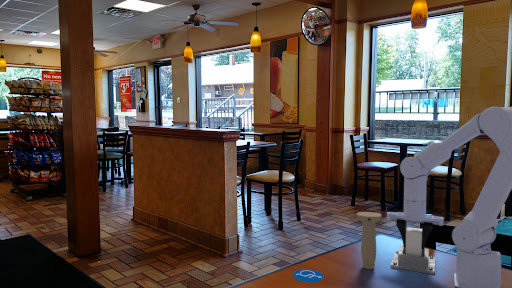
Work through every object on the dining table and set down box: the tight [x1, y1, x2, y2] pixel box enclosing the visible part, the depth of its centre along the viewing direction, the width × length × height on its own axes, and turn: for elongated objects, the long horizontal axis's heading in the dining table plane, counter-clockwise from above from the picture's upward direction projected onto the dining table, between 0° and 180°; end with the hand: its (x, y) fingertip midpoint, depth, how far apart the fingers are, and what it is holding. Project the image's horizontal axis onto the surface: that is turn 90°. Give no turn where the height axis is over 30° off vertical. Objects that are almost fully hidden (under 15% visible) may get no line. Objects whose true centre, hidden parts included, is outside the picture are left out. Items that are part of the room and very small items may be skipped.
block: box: [406, 226, 422, 256], centre depth 108 cm, size 4×4×7 cm
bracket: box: [390, 245, 436, 275], centre depth 108 cm, size 11×11×4 cm
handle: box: [356, 211, 382, 270], centre depth 105 cm, size 5×6×15 cm
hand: (413, 247), depth 108 cm, fingers closed on block, 4 cm apart
